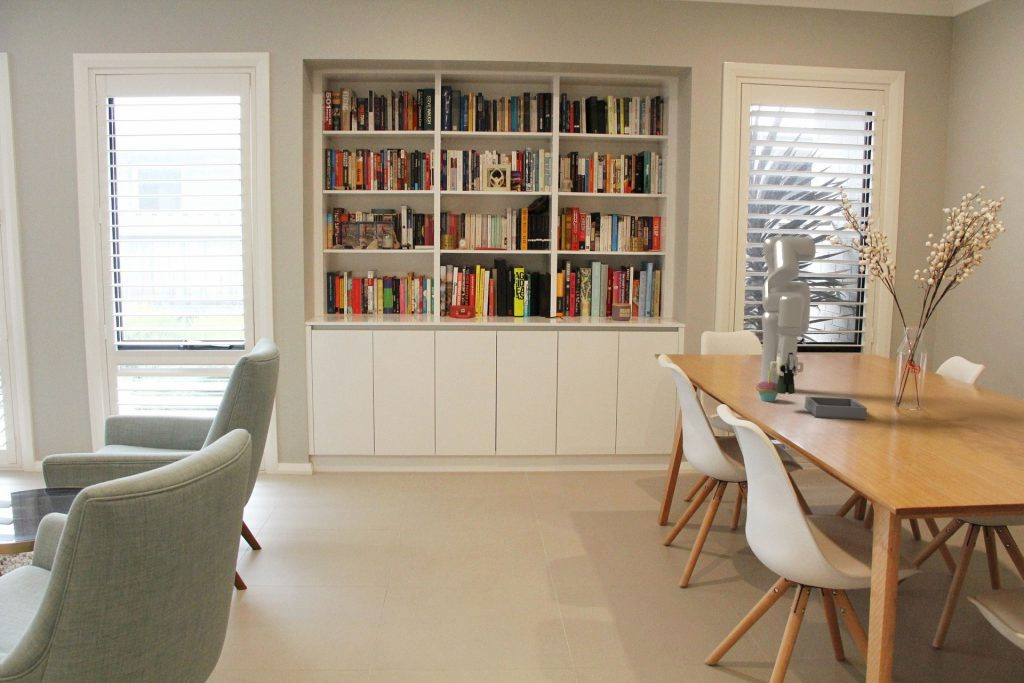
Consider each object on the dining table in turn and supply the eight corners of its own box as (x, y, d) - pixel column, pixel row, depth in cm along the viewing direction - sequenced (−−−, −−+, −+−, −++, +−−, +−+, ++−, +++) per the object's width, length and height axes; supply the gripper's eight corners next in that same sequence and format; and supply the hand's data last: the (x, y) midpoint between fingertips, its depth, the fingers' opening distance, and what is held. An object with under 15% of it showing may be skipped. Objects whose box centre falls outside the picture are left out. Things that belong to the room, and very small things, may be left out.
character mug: (770, 395, 268) (772, 358, 266) (767, 390, 275) (769, 354, 273) (803, 396, 266) (806, 359, 264) (799, 392, 273) (801, 355, 271)
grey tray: (804, 407, 275) (805, 396, 274) (852, 409, 273) (853, 398, 272) (815, 417, 259) (815, 405, 259) (865, 419, 257) (866, 408, 256)
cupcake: (781, 403, 281) (783, 370, 280) (756, 402, 283) (758, 369, 282) (778, 398, 290) (780, 366, 288) (754, 397, 291) (756, 365, 290)
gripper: (773, 327, 276) (770, 376, 279) (782, 334, 259) (779, 386, 262) (795, 328, 275) (792, 377, 278) (806, 335, 258) (802, 387, 261)
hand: (785, 381), depth 270 cm, fingers closed on character mug, 7 cm apart
